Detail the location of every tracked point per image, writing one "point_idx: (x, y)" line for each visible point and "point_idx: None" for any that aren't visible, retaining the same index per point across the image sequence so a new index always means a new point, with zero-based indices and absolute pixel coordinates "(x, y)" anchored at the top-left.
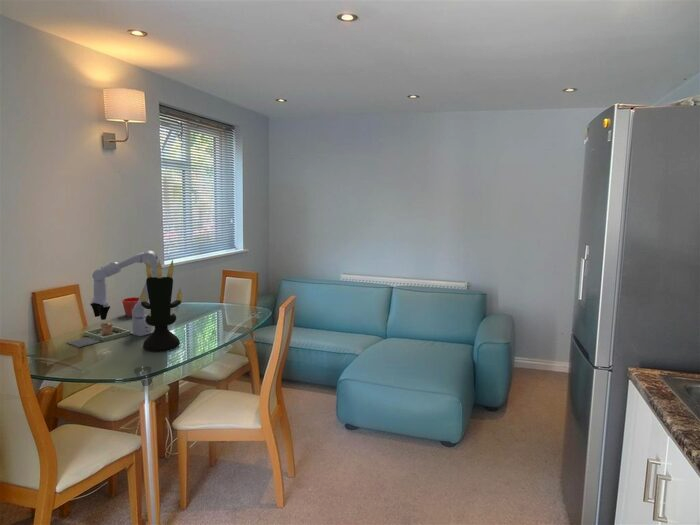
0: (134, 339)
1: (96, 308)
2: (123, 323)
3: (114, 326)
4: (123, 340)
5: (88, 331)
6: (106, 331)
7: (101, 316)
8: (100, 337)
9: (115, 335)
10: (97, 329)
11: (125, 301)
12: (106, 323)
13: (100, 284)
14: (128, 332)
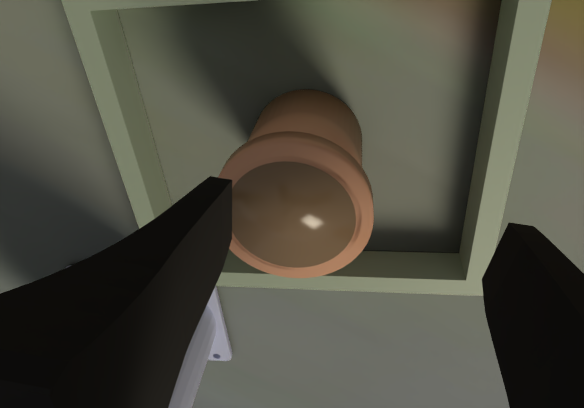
0: (8, 202)
1: (565, 400)
2: None
3: (411, 289)
4: (21, 134)
5: (513, 12)
6: (252, 135)
7: (170, 212)
8: None
9: (115, 140)
10: (489, 142)
11: None
12: (306, 221)
13: None
14: None
